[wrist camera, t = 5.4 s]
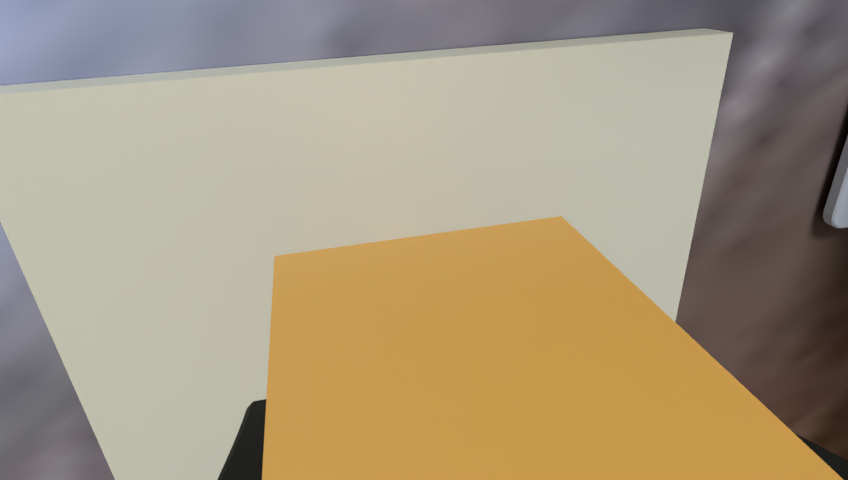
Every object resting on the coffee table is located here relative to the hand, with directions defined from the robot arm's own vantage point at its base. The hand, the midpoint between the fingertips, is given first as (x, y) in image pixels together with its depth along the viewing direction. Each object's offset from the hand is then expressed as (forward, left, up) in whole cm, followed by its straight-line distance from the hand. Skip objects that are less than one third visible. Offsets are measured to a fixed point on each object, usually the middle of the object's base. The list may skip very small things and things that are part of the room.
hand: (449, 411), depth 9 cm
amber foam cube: (0, 0, -1) cm, 1 cm away
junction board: (0, +4, -6) cm, 7 cm away
